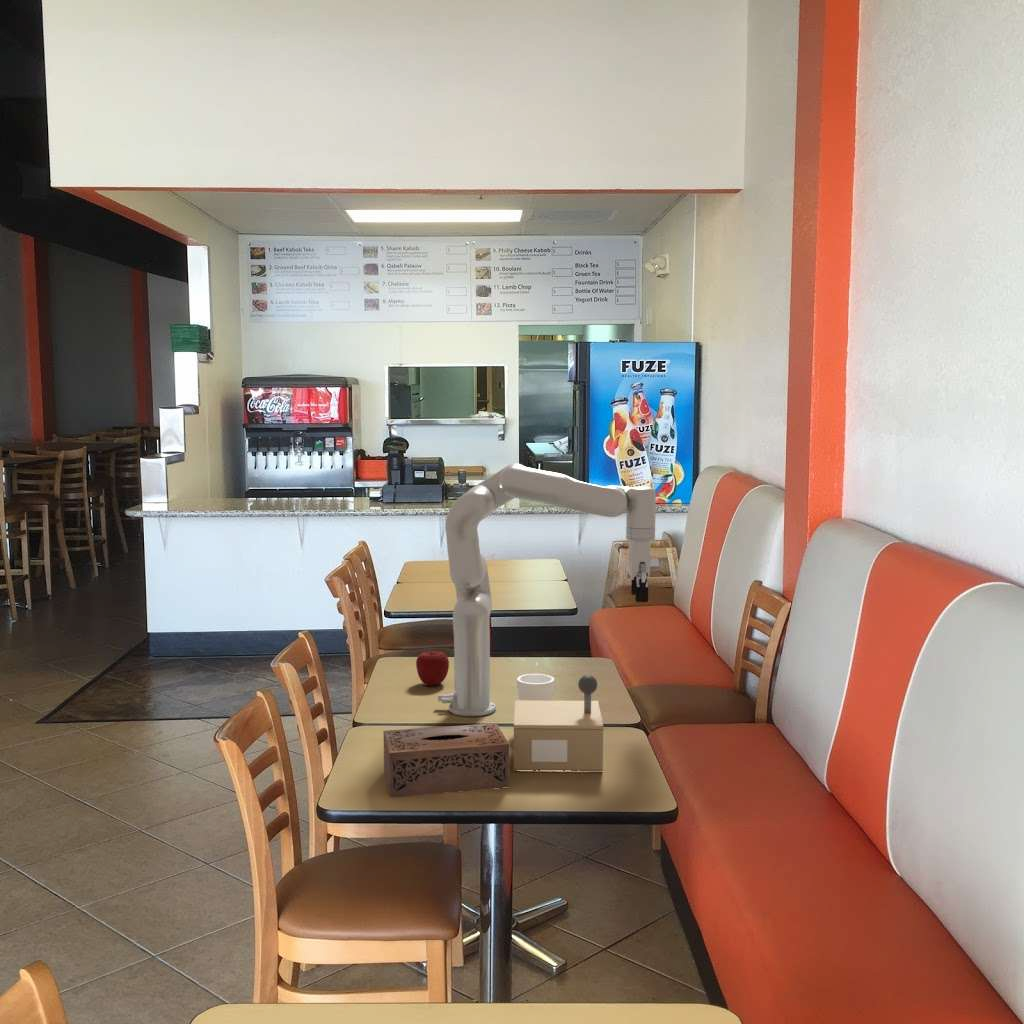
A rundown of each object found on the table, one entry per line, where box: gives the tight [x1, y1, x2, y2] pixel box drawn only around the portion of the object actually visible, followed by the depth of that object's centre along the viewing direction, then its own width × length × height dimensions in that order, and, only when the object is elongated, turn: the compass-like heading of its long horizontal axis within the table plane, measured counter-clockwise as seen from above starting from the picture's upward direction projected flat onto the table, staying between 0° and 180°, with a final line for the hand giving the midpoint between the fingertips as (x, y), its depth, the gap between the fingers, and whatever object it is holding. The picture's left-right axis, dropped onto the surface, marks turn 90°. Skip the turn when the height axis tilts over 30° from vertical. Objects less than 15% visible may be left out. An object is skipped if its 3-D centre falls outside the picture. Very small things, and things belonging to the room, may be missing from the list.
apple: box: [415, 650, 450, 687], centre depth 298 cm, size 10×10×10 cm
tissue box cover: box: [383, 722, 510, 798], centre depth 224 cm, size 26×14×10 cm, turn 102°
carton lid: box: [513, 674, 604, 730], centre depth 236 cm, size 20×18×10 cm
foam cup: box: [516, 673, 555, 701], centre depth 258 cm, size 10×9×13 cm
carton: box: [513, 727, 604, 772], centre depth 237 cm, size 20×18×10 cm
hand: (639, 598), depth 268 cm, fingers open, 9 cm apart
